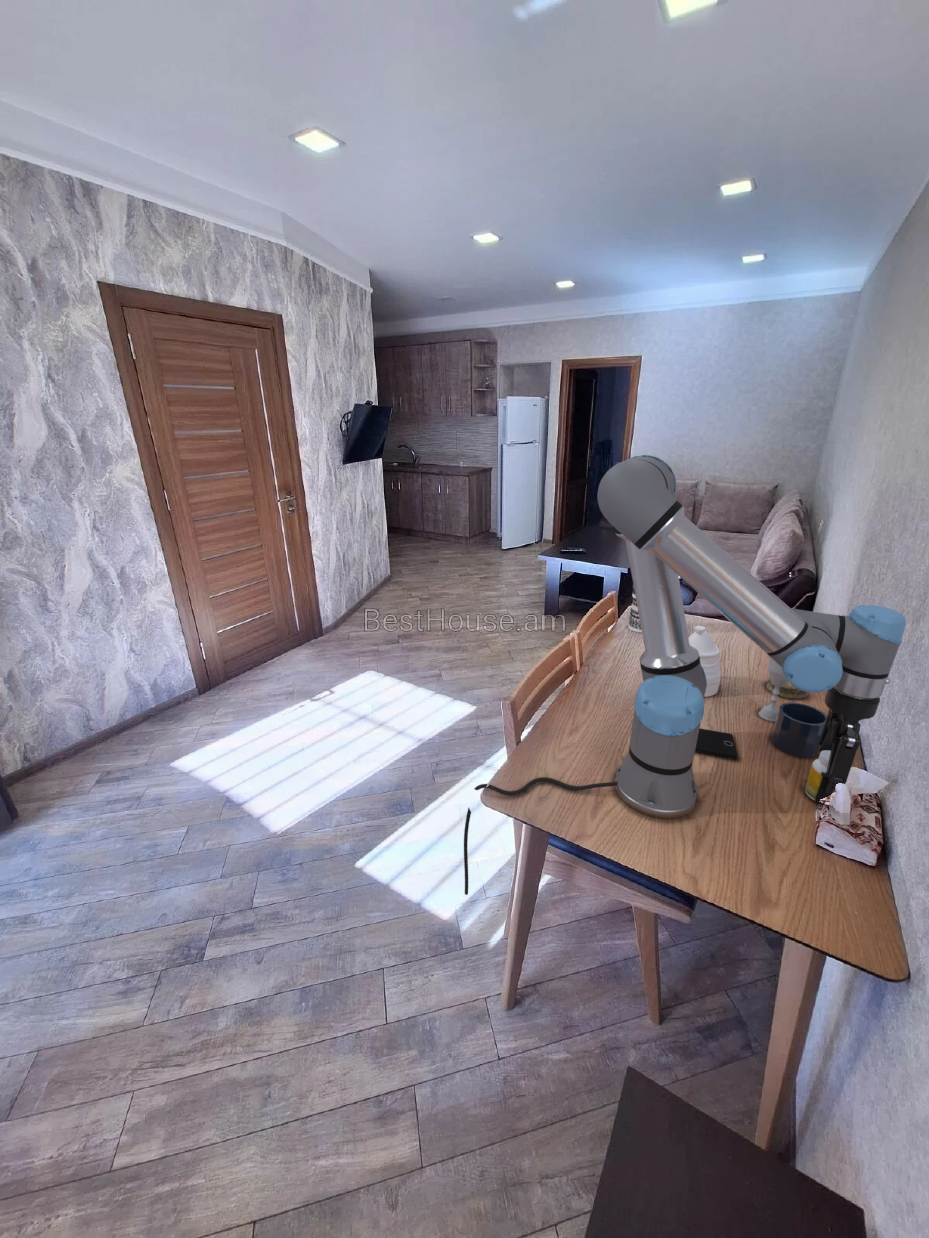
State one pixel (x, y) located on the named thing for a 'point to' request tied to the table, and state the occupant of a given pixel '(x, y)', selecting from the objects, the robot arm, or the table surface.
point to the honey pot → (707, 658)
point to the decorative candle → (634, 615)
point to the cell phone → (716, 743)
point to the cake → (788, 691)
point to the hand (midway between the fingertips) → (821, 792)
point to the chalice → (779, 681)
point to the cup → (798, 729)
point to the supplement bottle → (817, 774)
